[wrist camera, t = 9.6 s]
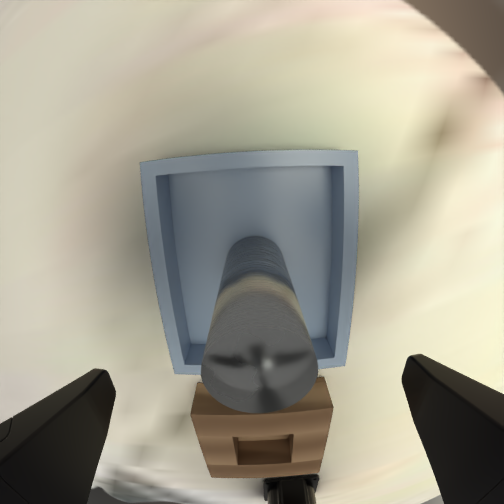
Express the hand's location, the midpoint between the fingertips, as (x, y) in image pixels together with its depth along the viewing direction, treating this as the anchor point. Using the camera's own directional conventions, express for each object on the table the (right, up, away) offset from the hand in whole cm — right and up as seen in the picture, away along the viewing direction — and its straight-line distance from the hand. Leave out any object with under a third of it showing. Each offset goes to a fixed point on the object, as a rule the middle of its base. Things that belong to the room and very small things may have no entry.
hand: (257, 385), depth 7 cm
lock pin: (0, +3, +10) cm, 11 cm away
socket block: (+1, -11, +15) cm, 19 cm away
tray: (0, +3, +11) cm, 11 cm away
